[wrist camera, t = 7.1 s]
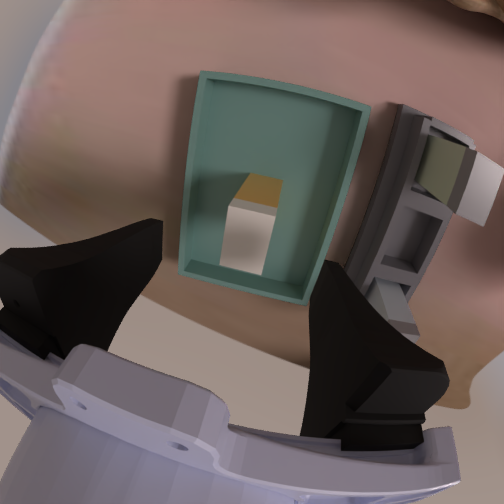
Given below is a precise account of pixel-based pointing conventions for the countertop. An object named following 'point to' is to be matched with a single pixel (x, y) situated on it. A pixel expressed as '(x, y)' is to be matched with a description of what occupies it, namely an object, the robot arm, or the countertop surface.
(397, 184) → the fuse holder
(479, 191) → the block
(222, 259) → the block
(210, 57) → the countertop surface
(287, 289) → the parts tray
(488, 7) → the ceramic bowl
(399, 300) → the grey rectangular block
